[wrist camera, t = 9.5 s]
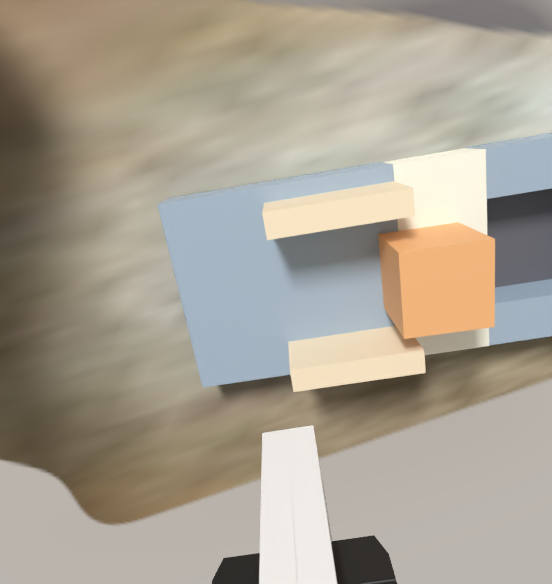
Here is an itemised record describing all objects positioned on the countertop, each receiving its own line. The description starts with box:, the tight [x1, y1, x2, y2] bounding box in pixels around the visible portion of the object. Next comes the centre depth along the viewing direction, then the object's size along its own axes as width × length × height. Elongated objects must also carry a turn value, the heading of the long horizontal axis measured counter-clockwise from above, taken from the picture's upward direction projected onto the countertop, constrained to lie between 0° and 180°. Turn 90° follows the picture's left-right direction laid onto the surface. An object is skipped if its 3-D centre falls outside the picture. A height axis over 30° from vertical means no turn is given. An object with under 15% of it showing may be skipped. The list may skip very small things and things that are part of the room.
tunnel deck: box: [157, 133, 552, 392], centre depth 29 cm, size 28×13×7 cm, turn 99°
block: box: [378, 222, 495, 339], centre depth 27 cm, size 5×5×5 cm
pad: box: [384, 148, 489, 355], centre depth 30 cm, size 6×13×3 cm, turn 9°
